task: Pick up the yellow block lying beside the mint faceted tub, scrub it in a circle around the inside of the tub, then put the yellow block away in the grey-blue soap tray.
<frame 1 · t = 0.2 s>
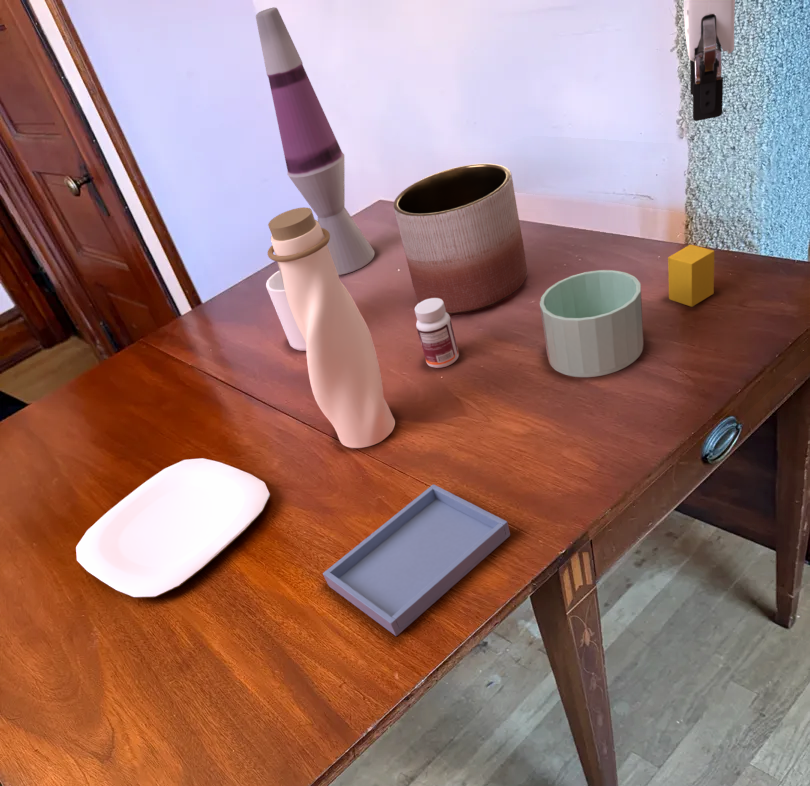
hand: (705, 104, 92), 20 cm above the table, tool pointing down, fingers open, 9 cm apart
pill bottle: (443, 360, 105), on the table
water bottle: (363, 430, 98), on the table
tray: (418, 561, 77), on the table
mint faceted tub: (595, 350, 97), on the table
lamp: (347, 263, 139), on the table
mug: (322, 331, 122), on the table
planter: (472, 290, 118), on the table
plate: (177, 530, 93), on the table
yellow block: (691, 296, 100), on the table
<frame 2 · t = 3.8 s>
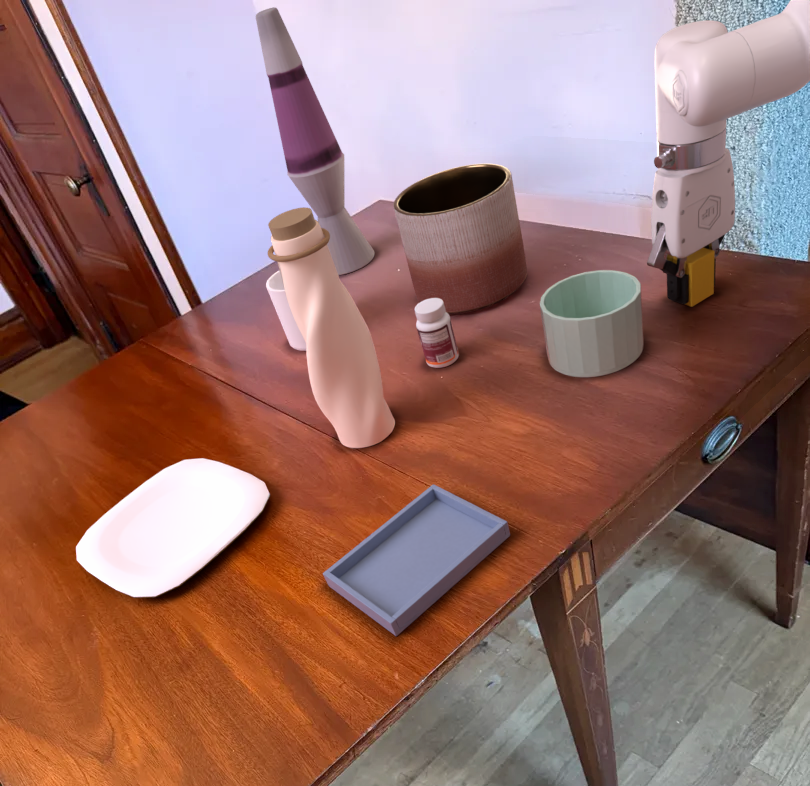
hand: (691, 291, 100), 1 cm above the table, tool pointing down, fingers closed on yellow block, 4 cm apart
yellow block: (691, 296, 100), on the table, touching gripper
everything else where it was.
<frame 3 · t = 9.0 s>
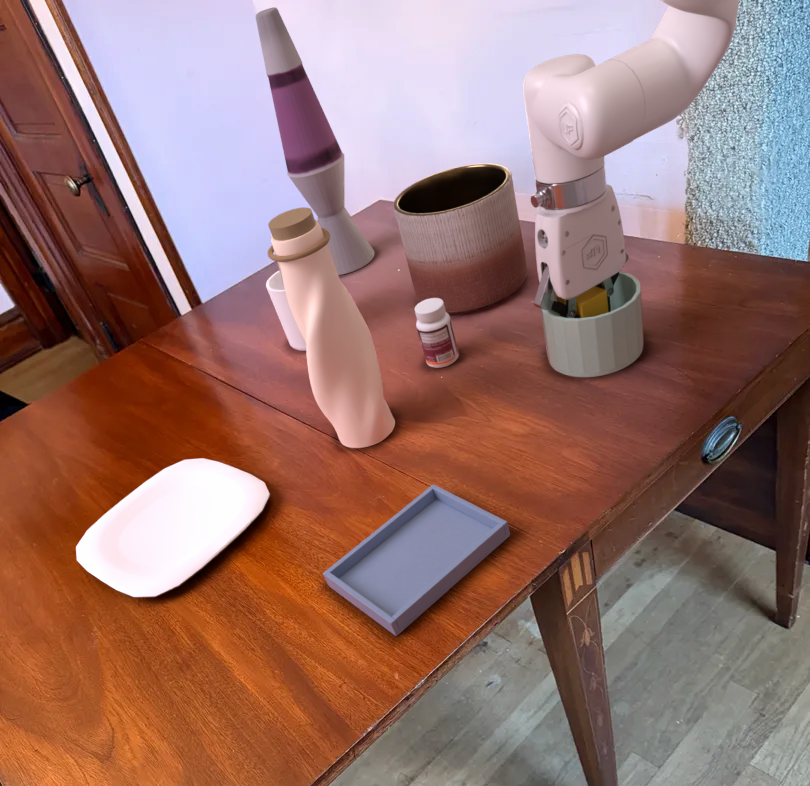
hand: (587, 331, 95), 3 cm above the table, tool pointing down, fingers closed on yellow block, 4 cm apart
yellow block: (587, 336, 96), point 2 cm above the table, touching gripper
everything else where it was.
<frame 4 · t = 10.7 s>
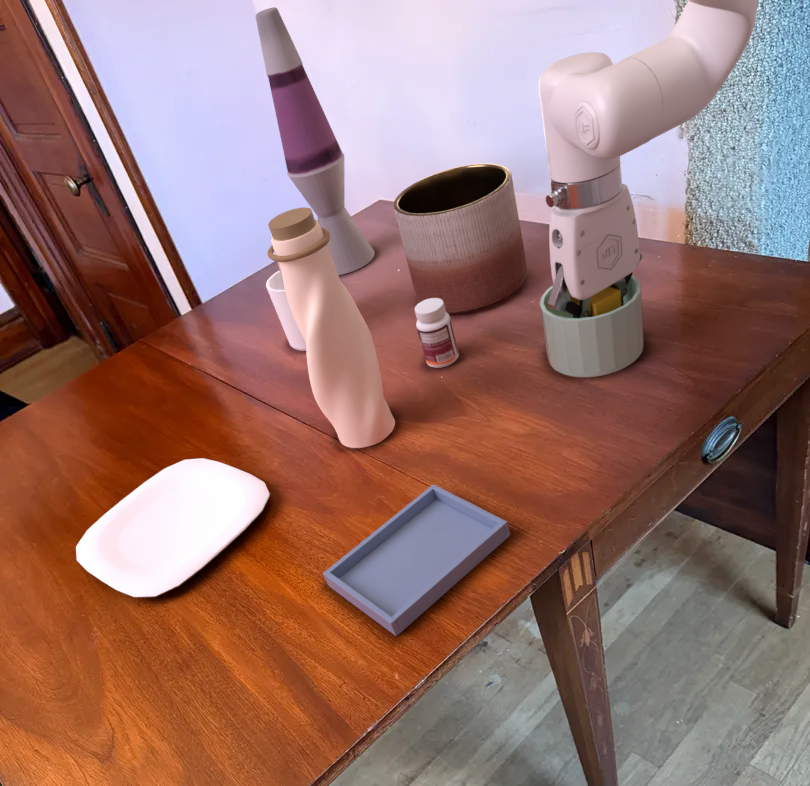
hand: (600, 332, 94), 3 cm above the table, tool pointing down, fingers closed on yellow block, 4 cm apart
yellow block: (600, 337, 95), point 2 cm above the table, touching gripper
everything else where it was.
when the fingers open (1 cm above the table, at t = 19.5 s): yellow block stays where it is, resting on tray.
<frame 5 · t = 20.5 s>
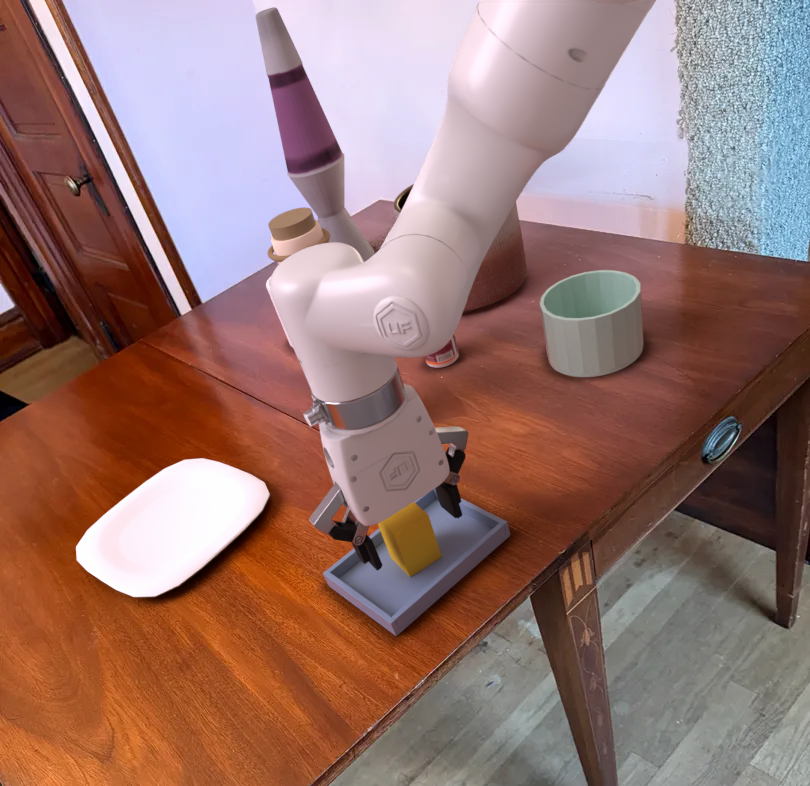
hand: (413, 536, 75), 4 cm above the table, tool pointing down, fingers open, 9 cm apart
yellow block: (416, 557, 77), resting on tray
everything else where it was.
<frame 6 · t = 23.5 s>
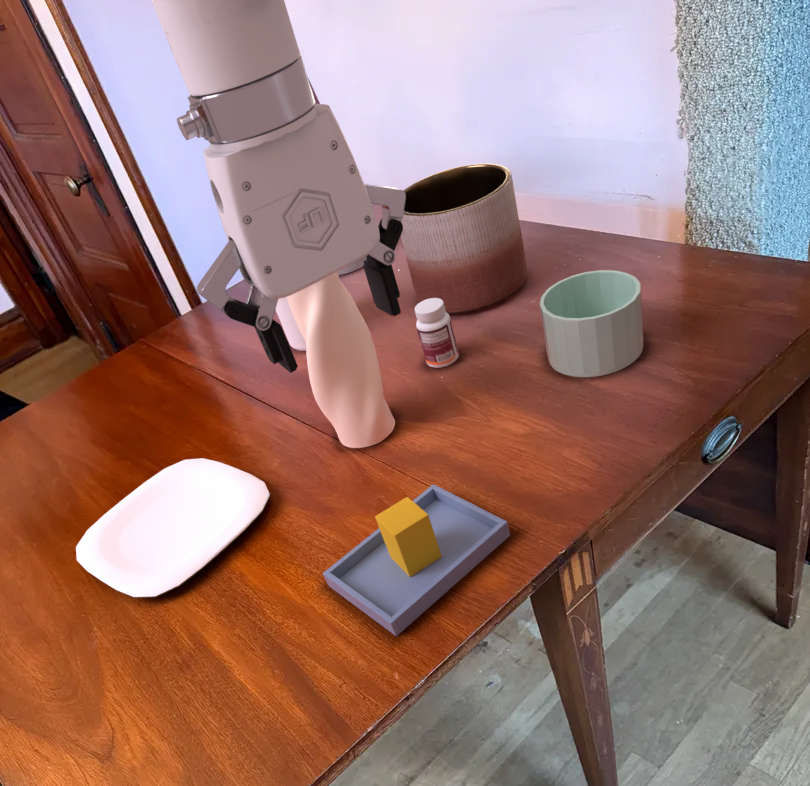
hand: (338, 337, 60), 26 cm above the table, tool pointing down, fingers open, 9 cm apart
nothing on the table moved.
at the end: yellow block inside the target area in the tray (0.2 cm from its centre), point 0.5 cm above the tray's base; the gripper is holding nothing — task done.
